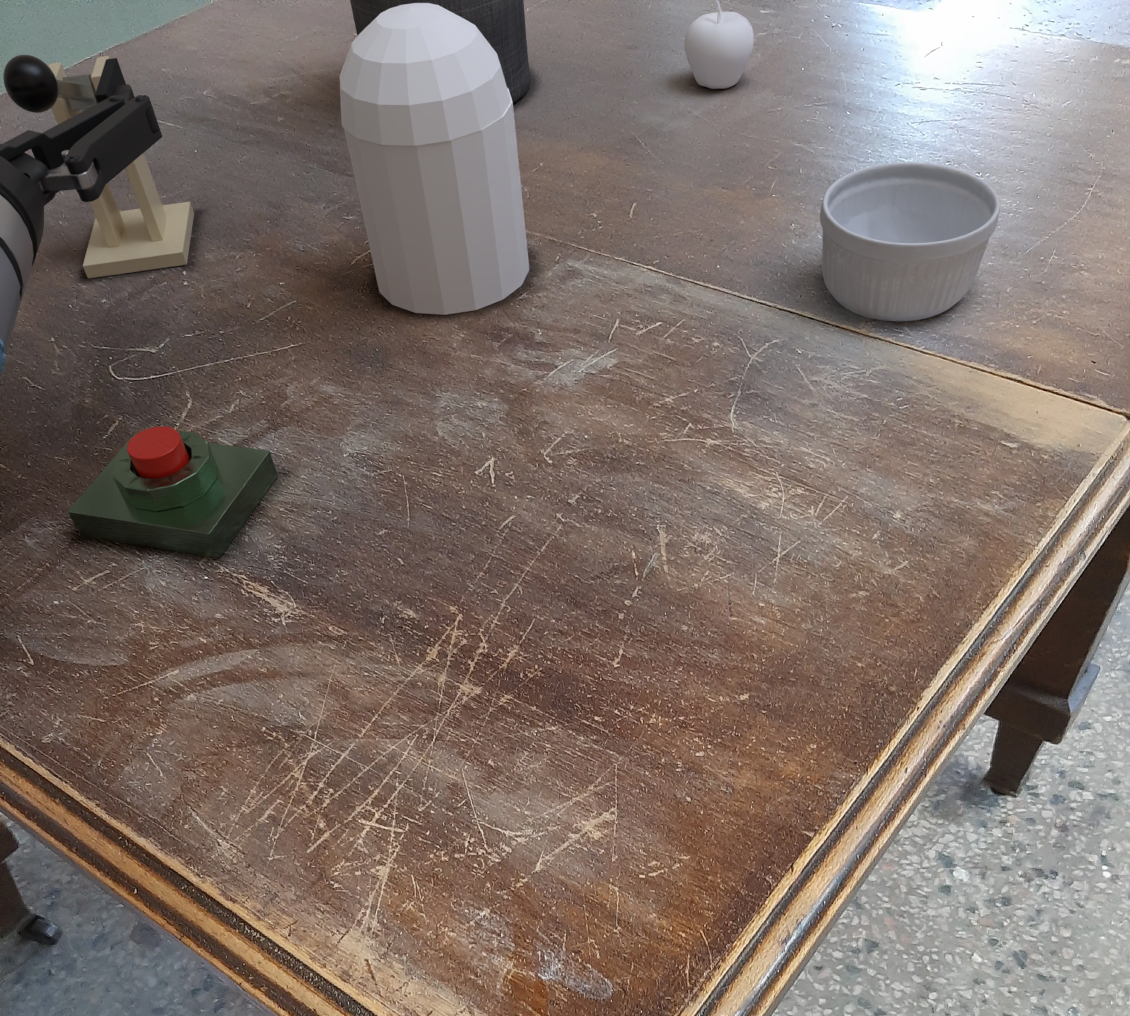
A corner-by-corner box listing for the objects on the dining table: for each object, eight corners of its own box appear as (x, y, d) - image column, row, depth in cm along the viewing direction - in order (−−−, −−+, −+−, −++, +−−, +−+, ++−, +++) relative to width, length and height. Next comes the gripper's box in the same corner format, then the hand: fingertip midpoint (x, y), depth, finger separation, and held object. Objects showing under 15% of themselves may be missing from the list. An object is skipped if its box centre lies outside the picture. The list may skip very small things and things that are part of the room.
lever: (57, 108, 78) (39, 49, 76) (7, 114, 78) (-12, 56, 76) (117, 115, 93) (103, 66, 91) (75, 121, 93) (60, 71, 91)
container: (485, 326, 88) (446, 50, 72) (346, 300, 92) (282, 34, 77) (554, 247, 95) (533, -20, 80) (423, 226, 100) (379, -31, 84)
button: (126, 476, 73) (116, 455, 72) (153, 444, 75) (143, 423, 74) (172, 483, 72) (163, 461, 71) (198, 450, 74) (189, 429, 73)
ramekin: (891, 351, 82) (908, 262, 76) (777, 283, 89) (785, 197, 84) (1015, 291, 86) (1039, 203, 80) (896, 230, 93) (911, 145, 88)
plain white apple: (682, 71, 117) (684, -15, 111) (749, 67, 116) (754, -20, 110) (684, 98, 113) (686, 10, 106) (753, 94, 112) (759, 5, 106)
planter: (337, 97, 119) (300, -77, 107) (462, 46, 126) (440, -123, 114) (436, 141, 111) (407, -43, 98) (564, 83, 117) (553, -96, 105)
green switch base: (80, 536, 75) (55, 489, 72) (146, 457, 80) (125, 411, 77) (219, 558, 73) (199, 511, 70) (278, 476, 78) (262, 428, 75)
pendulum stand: (187, 264, 98) (123, 85, 87) (87, 278, 98) (10, 100, 86) (194, 213, 104) (136, 40, 93) (101, 226, 104) (30, 54, 92)
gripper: (-208, 322, 66) (-123, 171, 80) (197, 264, 67) (215, 124, 81) (-292, 198, 61) (-186, 57, 74) (152, 136, 61) (179, 8, 75)
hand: (23, 92), depth 77 cm, fingers open, 13 cm apart
